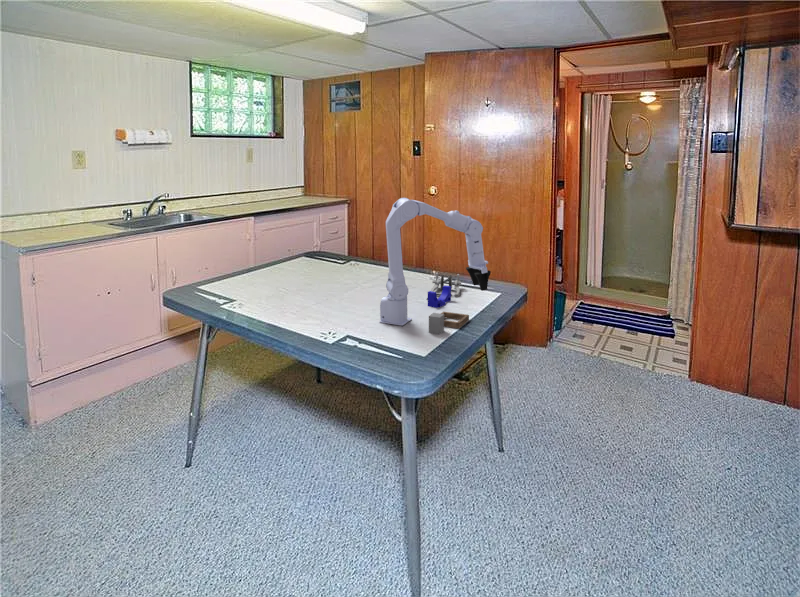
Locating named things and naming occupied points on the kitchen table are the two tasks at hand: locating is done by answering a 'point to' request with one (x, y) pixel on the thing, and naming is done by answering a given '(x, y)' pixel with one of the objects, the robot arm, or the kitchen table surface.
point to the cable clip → (443, 298)
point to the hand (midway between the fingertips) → (480, 287)
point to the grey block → (436, 323)
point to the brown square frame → (461, 317)
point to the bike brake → (456, 283)
